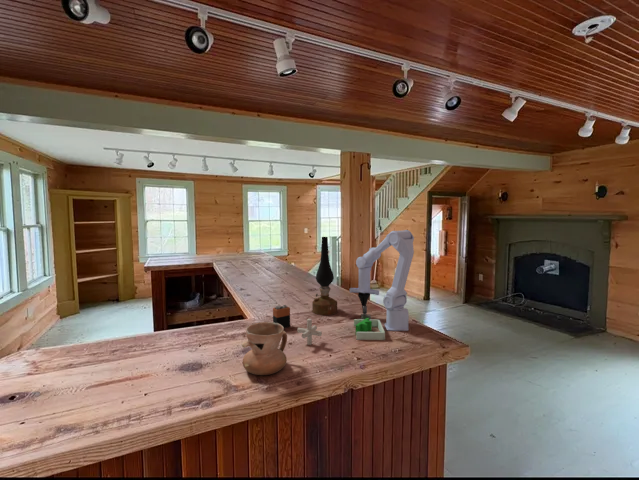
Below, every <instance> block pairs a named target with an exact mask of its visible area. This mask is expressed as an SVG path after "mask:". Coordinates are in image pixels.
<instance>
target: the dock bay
mask: <svg viewBox="0 0 639 480" xmlns="http://www.w3.org/2000/svg"><path fill="white" fill-rule="evenodd" d="M363 320H364V319H361V318H357V319H356V318H355V319H353V327H356V325H357V324H358V323H360V322H361V321H363ZM370 321H372V327H377V328H378V331H367V332H356V331H355V337H356V339H355V340H359V341H360V340H361V341H362V340H365V341H366V340H367V341H373V340H375V341H385V340H386V331H385V329H384V327H383V325H382V324H383V323H382V322H381V320H380V319H372V318H371V319H370Z"/></svg>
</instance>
